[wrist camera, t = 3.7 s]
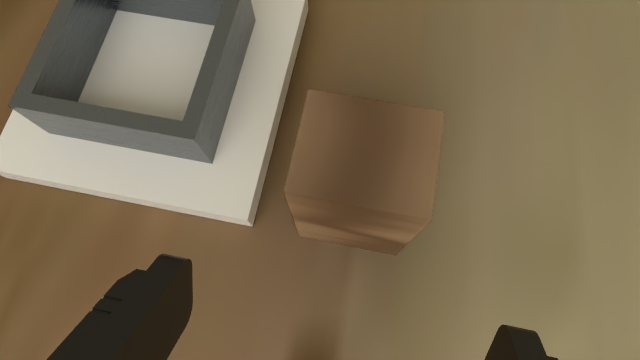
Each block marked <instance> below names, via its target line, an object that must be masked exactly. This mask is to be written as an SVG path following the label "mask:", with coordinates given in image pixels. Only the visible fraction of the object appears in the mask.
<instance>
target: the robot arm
mask: <svg viewBox="0 0 640 360" xmlns="http://www.w3.org/2000/svg"><path fill="white" fill-rule="evenodd" d="M192 304H193V292H192V262H191V260H190V259H186V258H181V257H176V256H171V255H167V254H161V255H159V256H158V257H157V258H156V260H155V261H154V262H153V263H152V264H151V266H150V267H149V268H148V269H147V270H146V271H144V270H139V269H136V270H134V271H133V272H131V273H129V274H127V275H126V276H124V277H122V278H121V279H119V280H117V282H116V283H115V284H114V285H113V286H112V287H111V288H110V289H109V290H108V292H107V293H106V294H105V295H104V298H103V299H100V301H99V302H98V303H97V304H96V305H95V306H94V307H93V310H92V311H91V312H89V313H88V314H87V315H86V316H85V317H84V318H83V320H82V321H81V322H80V323H79V324H78V325H77V326H76V327H75V328H74V330H73V331H72V332H71V333H70V334H69V335H68V336H67V337H66V339H65V340H64V341H63V342H62V343H61V344H60V345H59V346H58V347H57V349H56V350H55V351H54V352H53V353H52V354H51V355H50V356H49V358H48V359H47V360H167V358H168V356H169V355H170V353H171V351H172V350H173V348H174V346H175V344H176V343H177V341H178V339H179V338H180V336H181V334H182V332H183V331H184V329H185V327H186V325H187V323H188V321H189V318H190V315H191V311H192ZM485 360H558V359H557V358H554V357H549V356H547V355H546V352H545V350H544V348H543V345H542V343H541V340H540V338H539V336H538V334H537V333H536V332H535V331H532V330H527V329H522V328H517V327H513V326H508V325H501V326H500V327H499V329H498V331H497V333H496V335H495V337H494V340H493V342H492V344H491V346H490V349H489V351H488V353H487V355H486V358H485Z"/></svg>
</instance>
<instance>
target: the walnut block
mask: <svg viewBox="0 0 640 360" xmlns="http://www.w3.org/2000/svg"><path fill="white" fill-rule="evenodd" d="M444 119H445V112H443V111H437V110H431V109H425V108H419V107H413V106H408V105H402V104H396V103H390V102H384V101H378V100H372V99H366V98H360V97H354V96H348V95H342V94H336V93H330V92H325V91H319V90H313V89H308V92H307V96H306V100H305V104H304V108H303V113H302V117H301V121H300V125H299V129H298V133H297V138H296V142H295V146H294V150H293V154H292V158H291V163H290V167H289V171H288V175H287V179H286V183H285V187H284V194H285V197H286V200H287V202H288V205H289V208H290V211H291V214H292V217H293V219H294V222H295V225H296V228H297V231H298V233H299V236H301V237H306V238H311V239H316V240H321V241H326V242H331V243H336V244H341V245H346V246H351V247H356V248H361V249H367V250H372V251H377V252H382V253H387V254H392V255H396V254H397V253H398V252H399V251H400V250H401V249H402V248H404V247H405V246H406V245H407V244H408V243H409V242H410V241H411V240H412V239H413V238H414V237H415V236H416V235H417V234H418V233H419V232H420V231H421V230H422V229H423V228H424V227H425V226H426V225H427V224H428V223H429V222H430V221H431V220H432V216H433V208H434V200H435V192H436V184H437V176H438V168H439V159H440V151H441V143H442V135H443V127H444Z"/></svg>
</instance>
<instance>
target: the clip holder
mask: <svg viewBox="0 0 640 360" xmlns="http://www.w3.org/2000/svg"><path fill="white" fill-rule="evenodd" d="M307 14H308V0H59V2H58V4H57V6H56V8H55V10H54V12H53V14H52V16H51V18H50V20H49V22H48V24H47V26H46V28H45V31H44V33H43V35H42V37H41V39H40V41H39V43H38V45H37V47H36V49H35V51H34V53H33V55H32V57H31V59H30V61H29V63H28V66H27V68H26V70H25V72H24V74H23V76H22V78H21V80H20V82H19V84H18V86H17V88H16V90H15V92H14V94H13V96H12V98H11V101H10V103H9V105H8V106H9V107H10V108H12V109H13V111H12V113H11V115H10V117H9V119H8V121H7V123H6V125H5V128H4V130H3V132H2V134H1V136H0V175H1V176H3V177H6V178H10V179H15V180H20V181H25V182H30V183H35V184H40V185H45V186H50V187H55V188H60V189H65V190H70V191H75V192H80V193H85V194H90V195H95V196H100V197H105V198H111V199H116V200H121V201H126V202H131V203H136V204H141V205H146V206H151V207H156V208H161V209H166V210H171V211H176V212H181V213H186V214H191V215H196V216H201V217H206V218H211V219H216V220H221V221H226V222H231V223H236V224H241V225H247V226H252V227H253V223H254V219H255V216H256V212H257V208H258V204H259V200H260V196H261V192H262V188H263V185H264V181H265V177H266V173H267V169H268V165H269V161H270V157H271V153H272V150H273V146H274V142H275V138H276V134H277V130H278V126H279V122H280V118H281V115H282V111H283V107H284V103H285V99H286V95H287V91H288V87H289V83H290V80H291V76H292V72H293V68H294V64H295V60H296V56H297V52H298V48H299V45H300V41H301V37H302V33H303V29H304V25H305V21H306V17H307Z"/></svg>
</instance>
